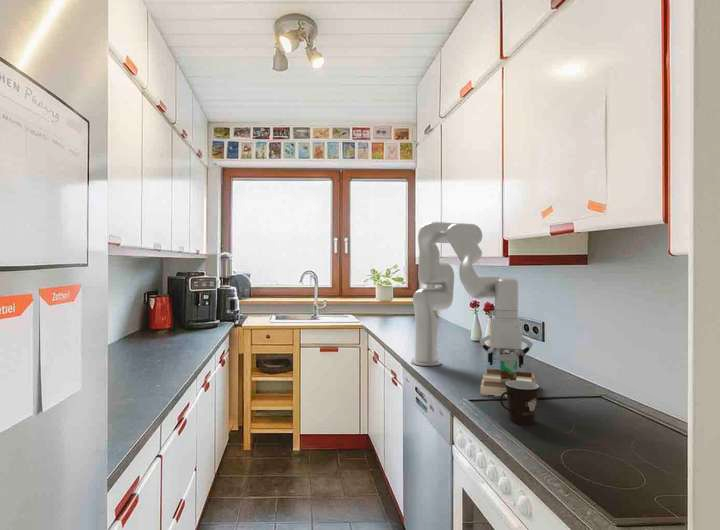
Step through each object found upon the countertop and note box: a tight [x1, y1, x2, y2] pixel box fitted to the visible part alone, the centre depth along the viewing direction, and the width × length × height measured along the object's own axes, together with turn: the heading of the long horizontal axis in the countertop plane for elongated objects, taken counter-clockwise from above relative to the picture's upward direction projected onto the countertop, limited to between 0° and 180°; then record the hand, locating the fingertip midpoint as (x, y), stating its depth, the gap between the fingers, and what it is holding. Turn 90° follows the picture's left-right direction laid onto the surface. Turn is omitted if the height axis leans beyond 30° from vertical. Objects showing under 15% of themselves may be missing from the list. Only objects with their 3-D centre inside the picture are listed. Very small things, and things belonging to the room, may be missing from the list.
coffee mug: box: [499, 380, 540, 426], centre depth 124 cm, size 12×9×10 cm
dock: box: [480, 368, 537, 398], centre depth 153 cm, size 18×17×4 cm
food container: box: [499, 349, 520, 382], centre depth 153 cm, size 12×6×10 cm, turn 163°
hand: (505, 365), depth 154 cm, fingers open, 9 cm apart
